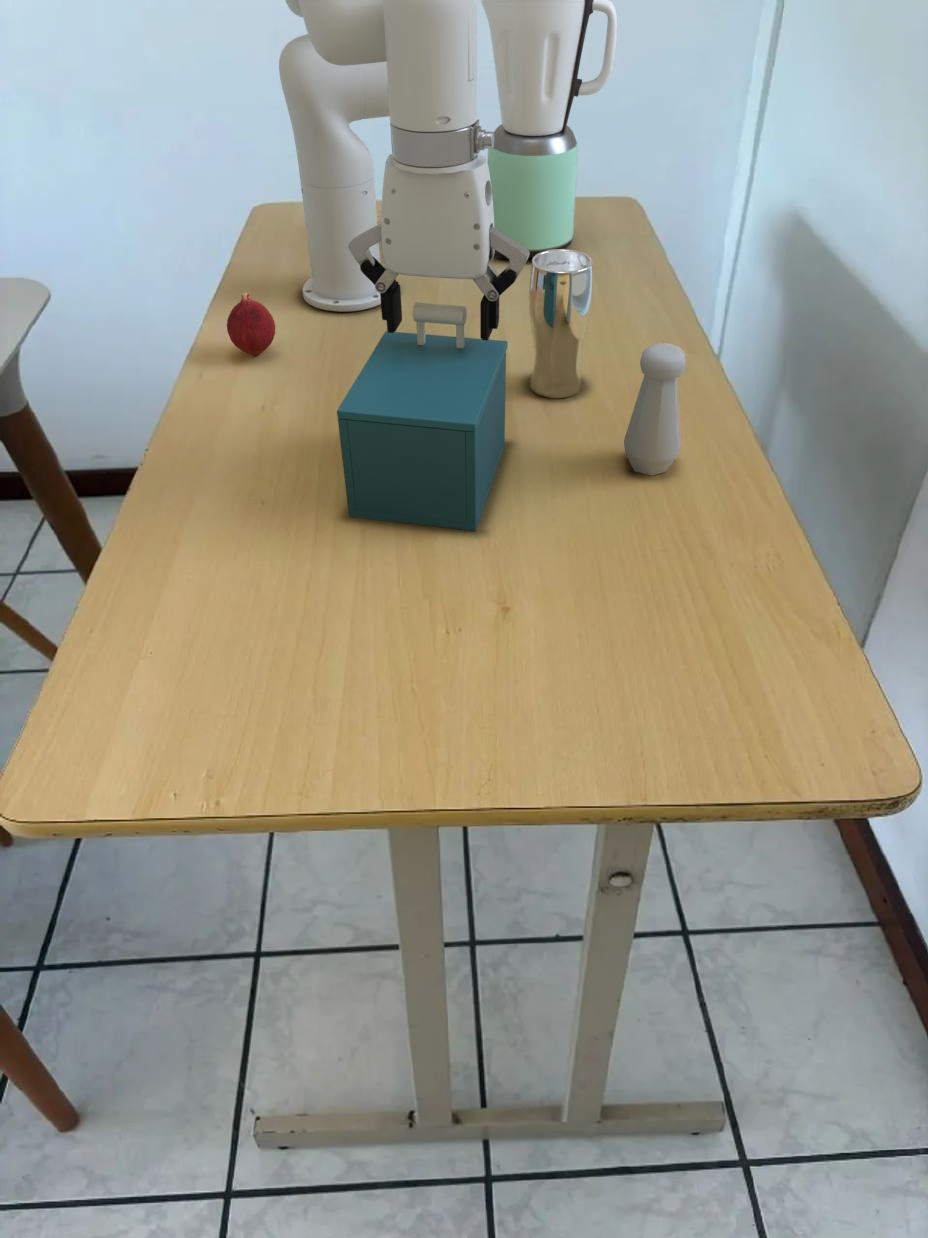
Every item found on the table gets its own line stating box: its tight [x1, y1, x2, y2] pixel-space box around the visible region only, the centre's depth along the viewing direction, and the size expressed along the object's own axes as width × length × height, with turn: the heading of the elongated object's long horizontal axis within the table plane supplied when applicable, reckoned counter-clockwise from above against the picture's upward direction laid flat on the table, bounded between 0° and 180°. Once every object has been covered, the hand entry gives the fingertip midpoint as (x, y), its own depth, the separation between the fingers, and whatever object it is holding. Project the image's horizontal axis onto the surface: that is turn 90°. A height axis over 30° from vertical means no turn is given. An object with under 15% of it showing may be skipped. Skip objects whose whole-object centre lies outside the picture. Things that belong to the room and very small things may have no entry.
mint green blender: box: [480, 0, 619, 260], centre depth 134 cm, size 19×13×35 cm
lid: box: [336, 301, 509, 432], centre depth 90 cm, size 17×13×5 cm
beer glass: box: [528, 248, 594, 399], centre depth 108 cm, size 7×7×15 cm
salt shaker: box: [623, 342, 687, 476], centre depth 96 cm, size 6×6×13 cm
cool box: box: [337, 352, 507, 532], centre depth 95 cm, size 16×13×11 cm
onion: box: [226, 291, 276, 357], centre depth 118 cm, size 6×6×8 cm
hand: (440, 330), depth 95 cm, fingers open, 9 cm apart
